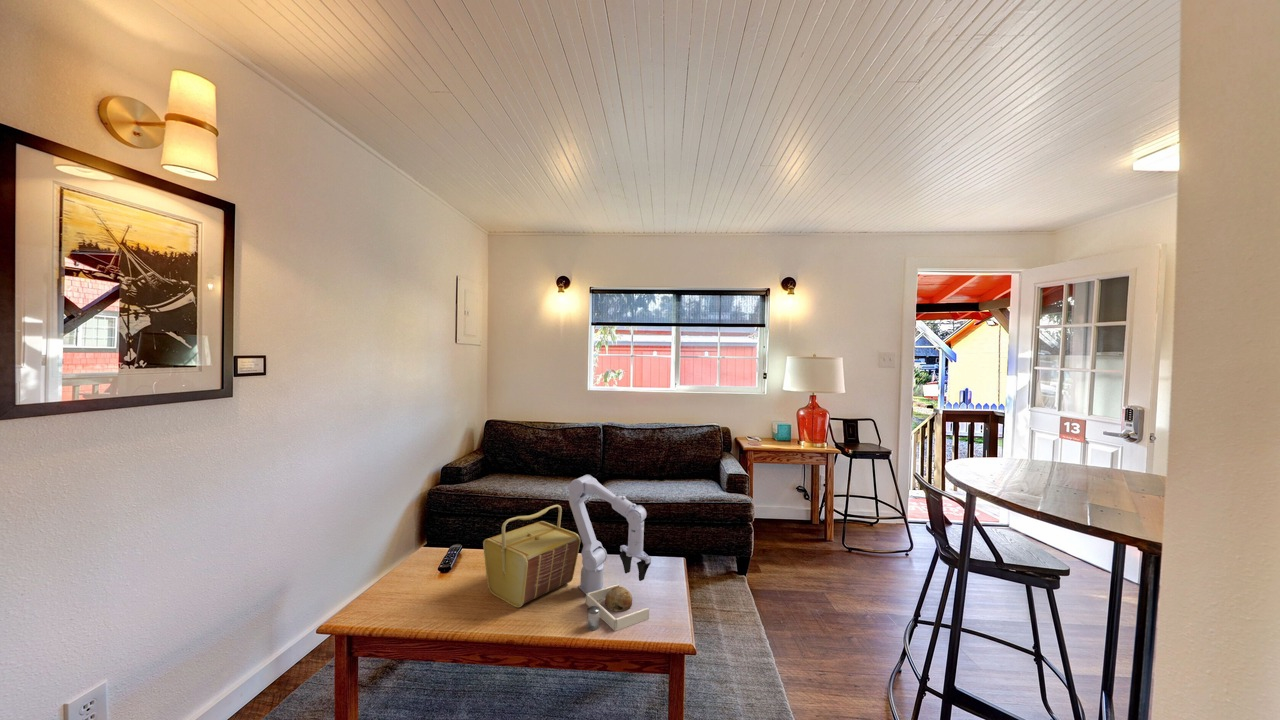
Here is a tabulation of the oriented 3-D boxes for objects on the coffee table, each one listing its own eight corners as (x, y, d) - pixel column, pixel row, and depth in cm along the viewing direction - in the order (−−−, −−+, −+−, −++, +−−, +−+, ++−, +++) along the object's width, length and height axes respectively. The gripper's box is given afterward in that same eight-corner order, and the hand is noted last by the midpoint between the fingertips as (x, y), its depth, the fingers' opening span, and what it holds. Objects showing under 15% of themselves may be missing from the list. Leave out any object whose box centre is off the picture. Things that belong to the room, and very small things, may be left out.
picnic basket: (521, 616, 157) (524, 530, 157) (478, 591, 172) (481, 512, 173) (581, 585, 180) (584, 510, 180) (538, 565, 196) (541, 496, 196)
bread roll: (605, 619, 163) (606, 604, 160) (603, 594, 173) (605, 579, 169) (632, 618, 165) (634, 603, 162) (629, 593, 174) (631, 578, 171)
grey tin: (584, 625, 153) (585, 608, 153) (595, 622, 155) (596, 604, 155) (590, 632, 149) (591, 614, 149) (601, 628, 152) (602, 610, 152)
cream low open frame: (585, 603, 167) (585, 593, 167) (617, 593, 175) (618, 584, 175) (614, 631, 150) (615, 620, 150) (648, 618, 159) (649, 608, 159)
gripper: (614, 536, 172) (613, 572, 172) (642, 548, 162) (640, 586, 162) (628, 532, 177) (626, 567, 177) (655, 543, 167) (654, 580, 167)
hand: (634, 576), depth 170 cm, fingers open, 7 cm apart
